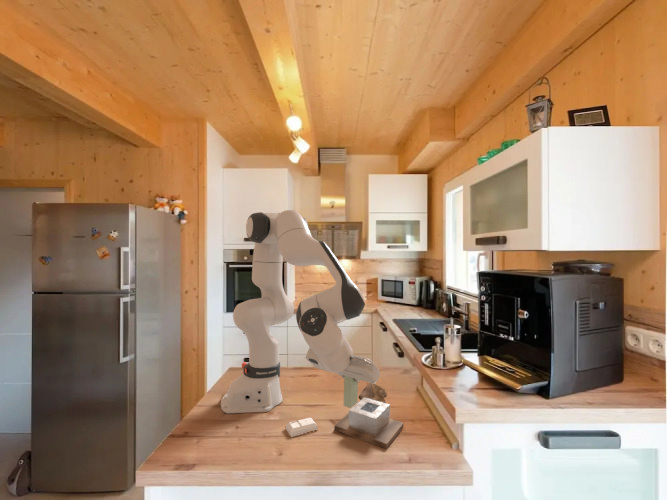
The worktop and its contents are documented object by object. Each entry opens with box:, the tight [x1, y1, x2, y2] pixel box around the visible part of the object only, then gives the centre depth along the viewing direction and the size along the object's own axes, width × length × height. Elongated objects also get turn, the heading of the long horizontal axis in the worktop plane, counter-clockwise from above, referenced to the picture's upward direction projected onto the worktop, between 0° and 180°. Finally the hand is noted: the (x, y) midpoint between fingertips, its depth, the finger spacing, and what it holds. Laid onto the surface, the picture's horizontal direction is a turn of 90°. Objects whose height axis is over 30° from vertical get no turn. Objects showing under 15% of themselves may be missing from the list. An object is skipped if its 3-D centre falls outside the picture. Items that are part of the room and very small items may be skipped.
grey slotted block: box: [348, 397, 391, 437], centre depth 109 cm, size 9×11×6 cm
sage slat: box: [343, 376, 359, 409], centre depth 98 cm, size 2×4×12 cm, turn 148°
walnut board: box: [334, 412, 404, 450], centre depth 109 cm, size 18×14×2 cm
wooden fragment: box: [358, 382, 388, 403], centre depth 133 cm, size 26×11×1 cm, turn 172°
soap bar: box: [285, 417, 319, 438], centre depth 108 cm, size 5×9×3 cm, turn 117°
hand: (352, 378), depth 98 cm, fingers closed on sage slat, 2 cm apart
